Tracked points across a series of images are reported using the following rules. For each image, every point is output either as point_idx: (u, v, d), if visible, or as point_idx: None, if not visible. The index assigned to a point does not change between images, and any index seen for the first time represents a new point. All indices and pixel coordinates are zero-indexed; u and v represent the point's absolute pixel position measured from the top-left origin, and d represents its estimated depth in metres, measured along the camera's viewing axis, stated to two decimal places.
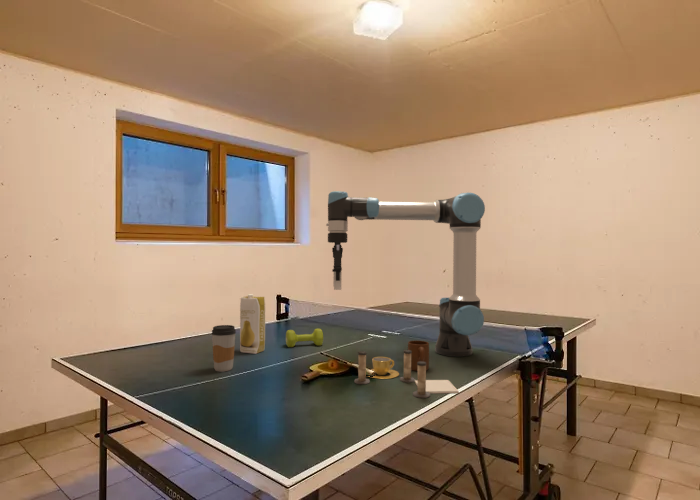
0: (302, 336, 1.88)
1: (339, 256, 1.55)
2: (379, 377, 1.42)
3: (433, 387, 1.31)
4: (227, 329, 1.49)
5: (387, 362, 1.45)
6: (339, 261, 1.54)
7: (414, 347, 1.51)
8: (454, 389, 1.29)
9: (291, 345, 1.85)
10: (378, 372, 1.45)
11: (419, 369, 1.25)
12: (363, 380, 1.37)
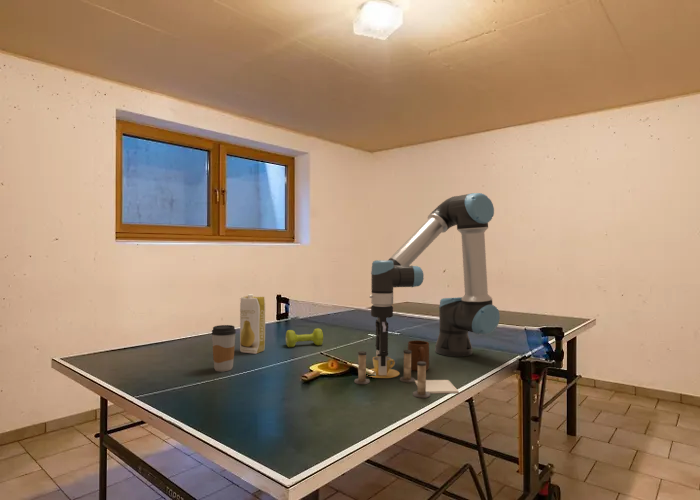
0: (302, 336, 1.88)
1: (385, 339, 1.41)
2: (379, 376, 1.42)
3: (433, 387, 1.31)
4: (227, 329, 1.49)
5: (387, 361, 1.44)
6: (385, 346, 1.41)
7: (414, 347, 1.51)
8: (454, 389, 1.29)
9: (291, 345, 1.85)
10: None
11: (419, 369, 1.25)
12: (363, 380, 1.37)
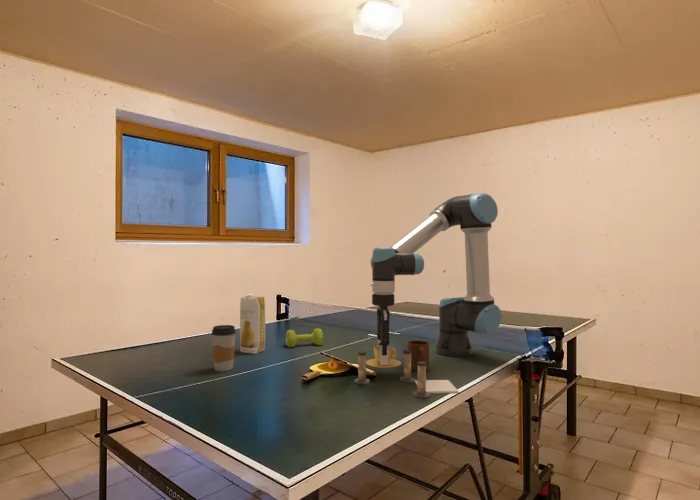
0: (302, 336, 1.88)
1: (387, 328, 1.37)
2: (381, 366, 1.39)
3: (433, 387, 1.31)
4: (227, 329, 1.49)
5: (389, 351, 1.41)
6: (387, 334, 1.37)
7: (414, 347, 1.51)
8: (454, 389, 1.29)
9: (291, 345, 1.85)
10: None
11: (419, 369, 1.25)
12: (363, 380, 1.37)
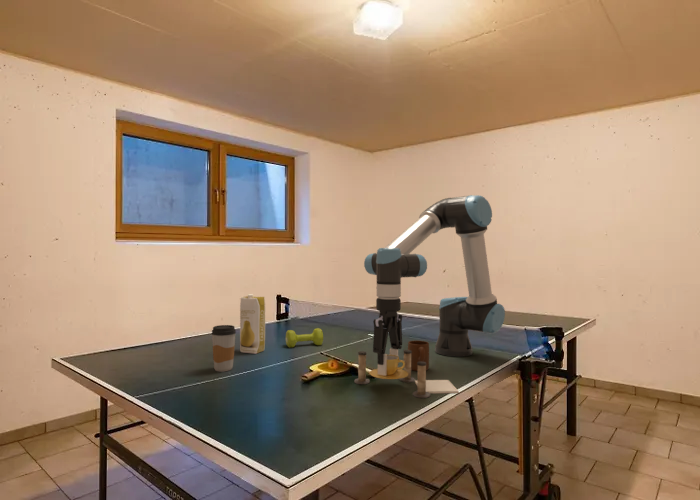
0: (302, 336, 1.88)
1: (378, 335, 1.27)
2: (376, 376, 1.29)
3: (433, 387, 1.31)
4: (227, 329, 1.49)
5: (388, 361, 1.29)
6: (378, 342, 1.27)
7: (414, 347, 1.51)
8: (454, 389, 1.29)
9: (292, 345, 1.85)
10: None
11: (419, 369, 1.25)
12: (363, 380, 1.37)
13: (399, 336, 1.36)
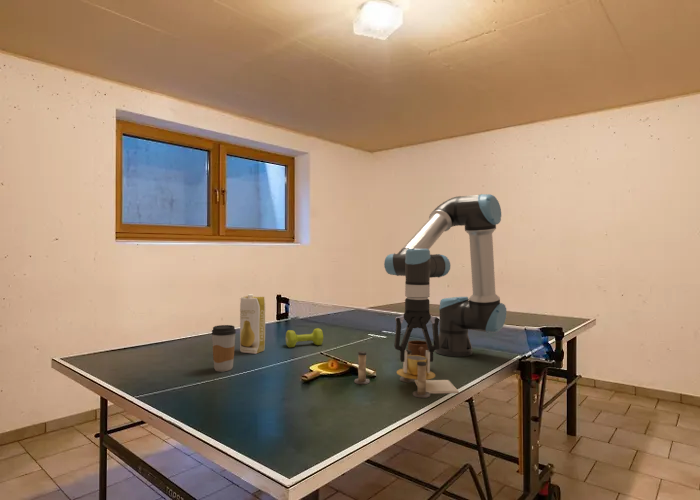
0: (302, 336, 1.88)
1: (396, 332, 1.32)
2: (399, 371, 1.34)
3: (433, 387, 1.31)
4: (227, 329, 1.49)
5: (408, 360, 1.31)
6: (395, 338, 1.32)
7: (414, 347, 1.51)
8: (454, 389, 1.29)
9: (292, 345, 1.85)
10: None
11: (419, 369, 1.25)
12: (363, 380, 1.37)
13: (434, 339, 1.32)
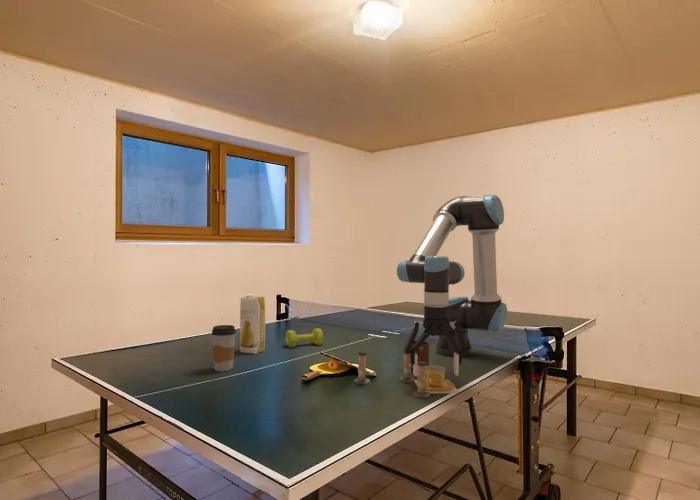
0: (302, 336, 1.88)
1: (411, 335, 1.32)
2: None
3: None
4: (227, 329, 1.49)
5: (426, 370, 1.31)
6: (408, 341, 1.32)
7: None
8: (454, 389, 1.29)
9: (292, 345, 1.85)
10: None
11: (419, 369, 1.25)
12: (363, 380, 1.37)
13: (461, 343, 1.32)
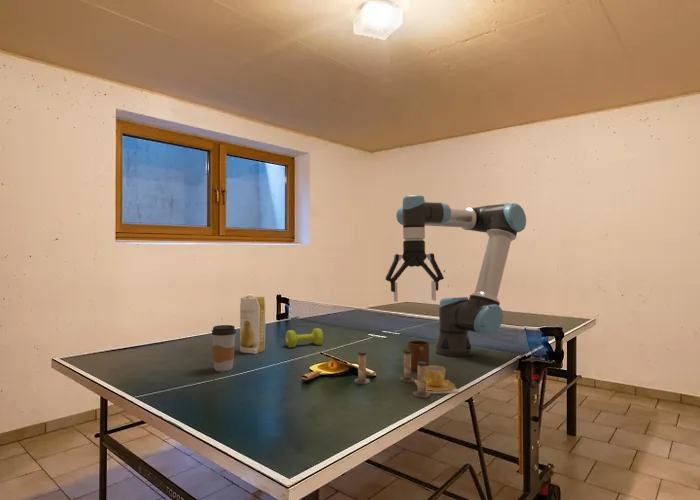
0: (303, 336, 1.88)
1: (392, 266, 1.48)
2: None
3: None
4: (227, 329, 1.49)
5: (426, 370, 1.32)
6: (389, 271, 1.48)
7: (414, 347, 1.51)
8: (454, 389, 1.29)
9: (292, 345, 1.85)
10: None
11: (419, 369, 1.25)
12: (363, 380, 1.37)
13: (437, 272, 1.49)
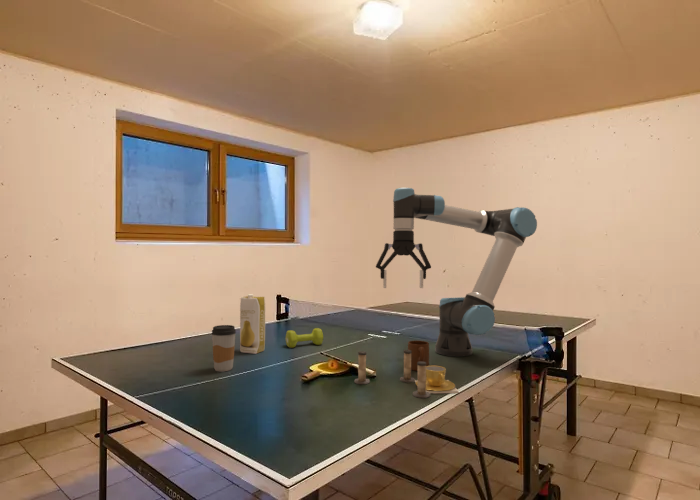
0: (303, 336, 1.88)
1: (381, 254, 1.57)
2: None
3: None
4: (227, 329, 1.49)
5: (426, 370, 1.31)
6: (379, 259, 1.57)
7: (414, 347, 1.51)
8: (454, 389, 1.29)
9: (293, 345, 1.85)
10: None
11: (419, 369, 1.25)
12: (363, 380, 1.37)
13: (425, 261, 1.57)
